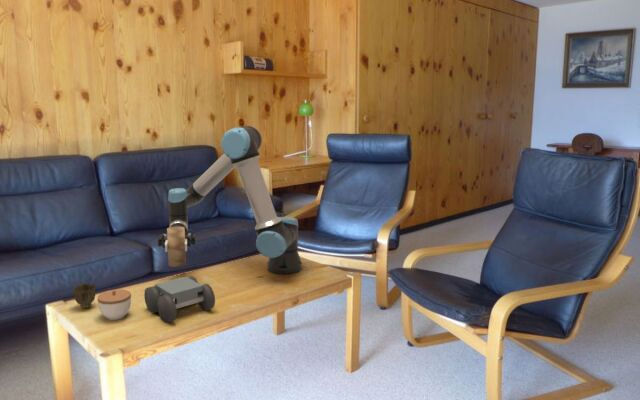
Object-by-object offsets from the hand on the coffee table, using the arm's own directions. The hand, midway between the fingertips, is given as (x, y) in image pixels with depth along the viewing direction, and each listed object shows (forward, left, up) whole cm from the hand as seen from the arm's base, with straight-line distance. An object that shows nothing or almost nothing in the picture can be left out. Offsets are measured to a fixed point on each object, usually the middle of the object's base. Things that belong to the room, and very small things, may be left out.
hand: (176, 247), depth 194 cm
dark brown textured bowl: (+29, -14, -20) cm, 38 cm away
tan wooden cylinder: (-3, -4, -8) cm, 9 cm away
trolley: (+5, +10, -20) cm, 23 cm away
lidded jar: (+24, 0, -20) cm, 31 cm away
